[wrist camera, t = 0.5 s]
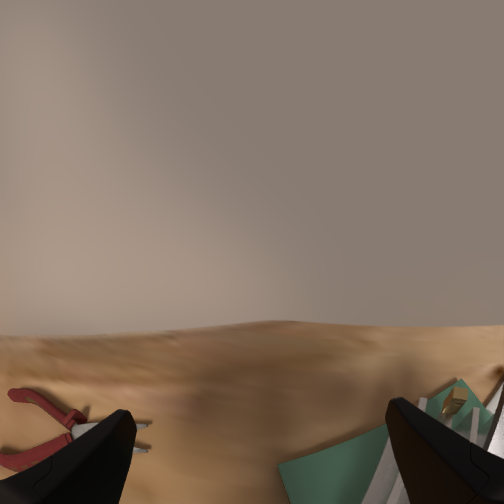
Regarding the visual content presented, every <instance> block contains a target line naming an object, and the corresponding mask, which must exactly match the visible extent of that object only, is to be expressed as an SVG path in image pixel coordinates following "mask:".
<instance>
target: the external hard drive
mask: <svg viewBox="0 0 504 504" xmlns="http://www.w3.org/2000/svg"><path fill="white" fill-rule="evenodd" d="M503 384H504V382H503V383H502V385H501V386H500V388H499V389H498V390H497V392H496V393H495V395H494V396H493V398H492V399H491V401H490V402H489V403H488V405H487V406H486V407H485V408H486V410H487V411H488V412H489V414H490V415H491V416H492V415H493V414H494V413H495V410H496V409H497V406H498V402H499V399H500V395H501V391H502V388H503Z"/></svg>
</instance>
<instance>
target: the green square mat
mask: <svg viewBox="0 0 504 504" xmlns="http://www.w3.org/2000/svg"><path fill="white" fill-rule="evenodd" d="M454 386H456V387H461V388H466V389H468V397H467V401H466V402H465V404H464V405H463V406H462V407H461V409H460V410H459V411H458V412H457V414H456V415H453V418H452V425H451V429H452V430H454V429H455V427H456V426H457V425H458V424H459V423H460V422H461V421H462V420H463V419H464V418H465V416H466V415H467V414H468V413H469V412H470V411H471V409H472V408H473V407H477V408H480V410H479V422H478V430H479V429H480V428H481V427H482V426H483V425H484V424H485V423H486V422H487V421H488V420H489V419H490V417H491V415H490V414H489V412H488V411H487V410H486V408H485V407H484V406H483V404H482V403H481V402H480V401H479V399H478V398H477V397H476V396H475V394H474V393H473V392H472V391H471V389H470V388H469V387H468V386H467V384H466V383H465V382H464V381H463V380H462V379H460V380H459V381H457V382H456V383H454V384H453V385H451V386H450V387H448V388H447V389H445V390H444V391H442V392H441V393H439V394H438V395H436V396H434V397H433V398H431V399H430V400H428V401H427V403H426V408H425V413H427V414H429V415H430V416H432V417H433V418H435V419H436V417H437V416H438V415H439V414H440V412H441V411H442V408H443V402H444V400H445V399H446V397H447V396H448V395H449V393H450V392H451V390H452V389H453V387H454ZM387 433H388V429H387V424H384V425H382V426H380V427H377V428H375V429H373V430H371V431H369V432H367V433H364V434H362V435H360V436H358V437H355V438H353V439H350V440H348V441H346V442H343V443H340V444H338V445H335V446H333V447H330V448H327V449H325V450H322V451H319V452H316V453H313V454H310V455H307V456H304V457H301V458H298V459H294V460H291V461H287V462H284V463H280V464H277V466H278V470H279V473H280V476H281V479H282V482H283V484H284V487H285V490H286V493H287V496H288V498H289V501H290V504H358V503H359V501H360V499H361V497H362V495H363V493H364V491H365V489H366V486H367V484H368V482H369V480H370V477H371V475H372V473H373V470H374V468H375V465H376V463H377V461H378V458H379V455H380V453H381V450H382V447H383V445H384V442H385V439H386V436H387Z"/></svg>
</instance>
